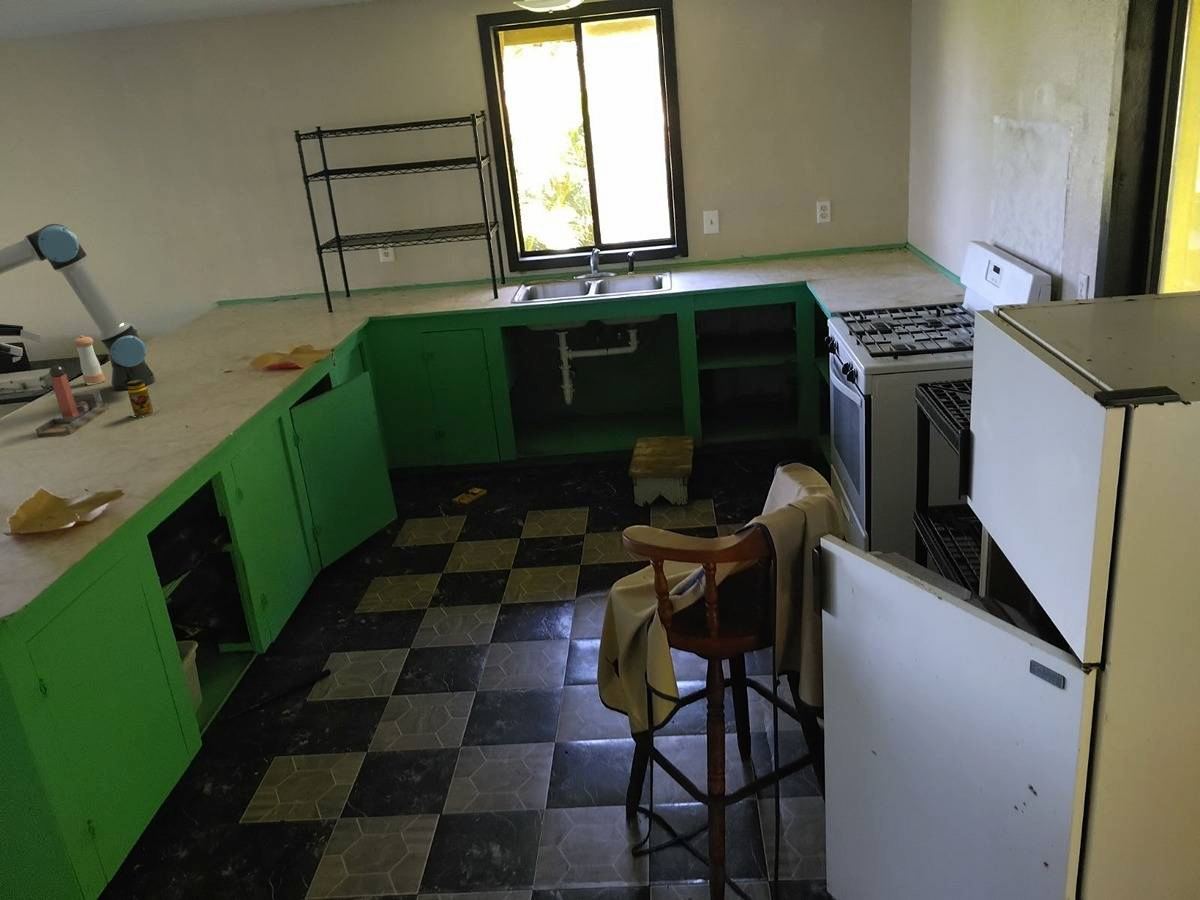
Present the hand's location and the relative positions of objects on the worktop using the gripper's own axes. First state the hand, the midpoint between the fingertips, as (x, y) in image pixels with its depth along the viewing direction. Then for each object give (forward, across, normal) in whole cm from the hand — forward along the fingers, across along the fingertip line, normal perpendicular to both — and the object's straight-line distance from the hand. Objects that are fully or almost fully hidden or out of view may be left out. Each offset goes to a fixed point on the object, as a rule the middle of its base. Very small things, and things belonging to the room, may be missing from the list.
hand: (31, 345), depth 318 cm
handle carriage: (+19, +10, -18) cm, 28 cm away
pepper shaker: (+6, -44, -31) cm, 54 cm away
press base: (+20, +10, -19) cm, 29 cm away
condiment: (+41, +8, -11) cm, 43 cm away
